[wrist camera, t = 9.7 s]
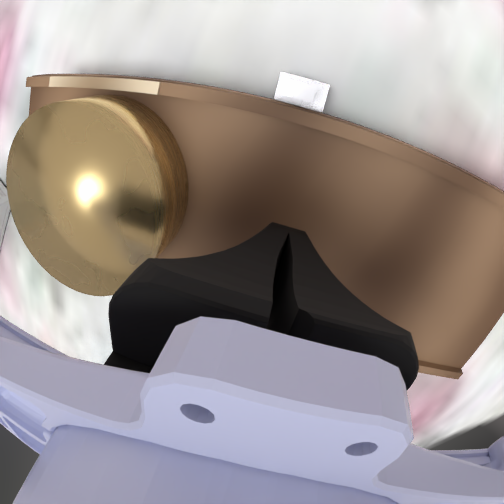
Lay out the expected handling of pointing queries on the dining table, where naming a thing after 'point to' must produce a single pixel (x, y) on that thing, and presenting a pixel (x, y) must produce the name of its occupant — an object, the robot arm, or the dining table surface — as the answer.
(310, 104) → the beam stand
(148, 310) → the robot arm
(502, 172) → the dining table surface
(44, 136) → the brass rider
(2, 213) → the small box
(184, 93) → the beam
